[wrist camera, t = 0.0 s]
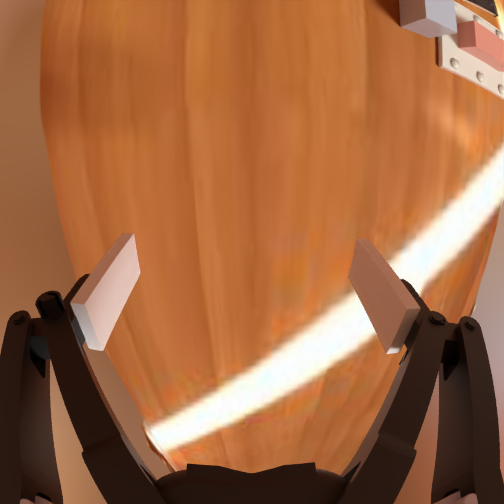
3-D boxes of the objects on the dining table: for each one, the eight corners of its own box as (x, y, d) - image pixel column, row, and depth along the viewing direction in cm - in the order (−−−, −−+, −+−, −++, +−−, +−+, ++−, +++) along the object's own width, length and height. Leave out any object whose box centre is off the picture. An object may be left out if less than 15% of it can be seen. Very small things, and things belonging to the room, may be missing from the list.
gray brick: (398, -2, 27) (423, -14, 20) (427, 10, 27) (454, 2, 20) (400, 27, 30) (426, 17, 22) (429, 38, 30) (457, 32, 23)
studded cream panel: (434, -7, 25) (453, -14, 19) (502, 35, 25) (522, 35, 20) (438, 66, 32) (460, 65, 27) (504, 100, 33) (525, 104, 28)
